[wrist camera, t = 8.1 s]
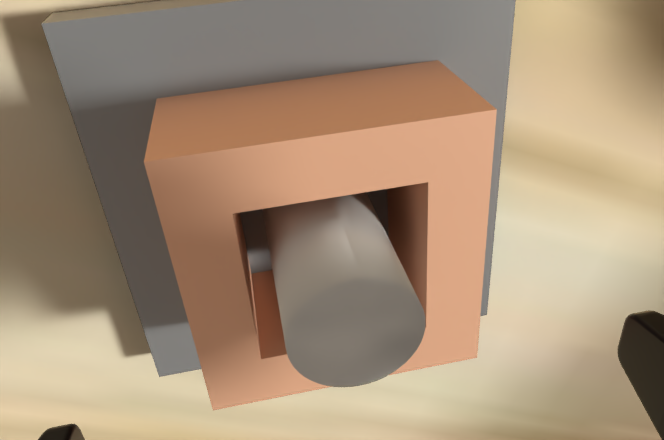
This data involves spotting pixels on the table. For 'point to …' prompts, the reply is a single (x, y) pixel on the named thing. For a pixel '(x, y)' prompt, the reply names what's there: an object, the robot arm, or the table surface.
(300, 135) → the ring
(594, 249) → the table surface
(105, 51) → the post plate
